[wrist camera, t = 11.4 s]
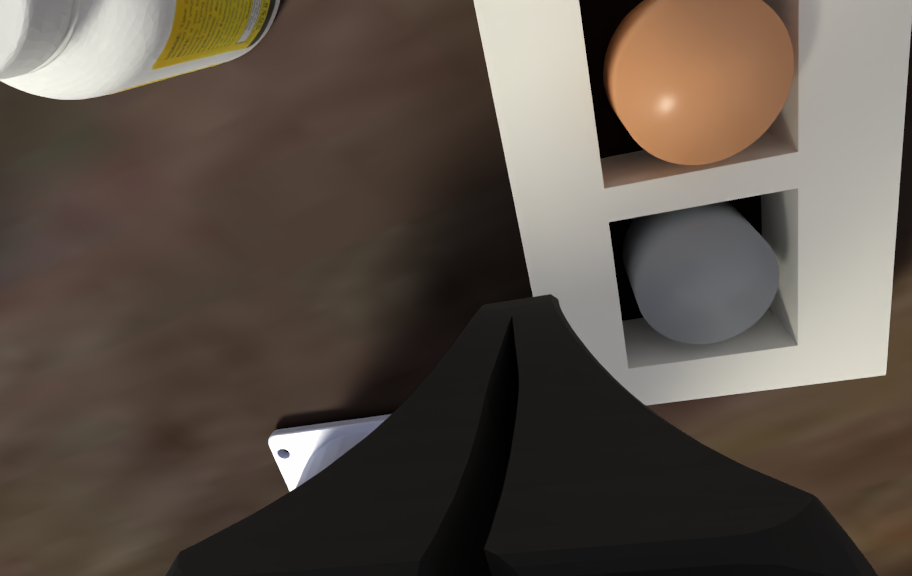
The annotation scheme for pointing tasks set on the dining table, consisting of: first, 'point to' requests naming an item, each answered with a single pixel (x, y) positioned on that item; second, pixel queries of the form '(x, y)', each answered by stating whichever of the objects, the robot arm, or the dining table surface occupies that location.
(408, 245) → the dining table surface
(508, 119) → the button panel
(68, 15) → the supplement bottle
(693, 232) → the grey button
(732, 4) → the orange rounded dome
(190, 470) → the dining table surface
